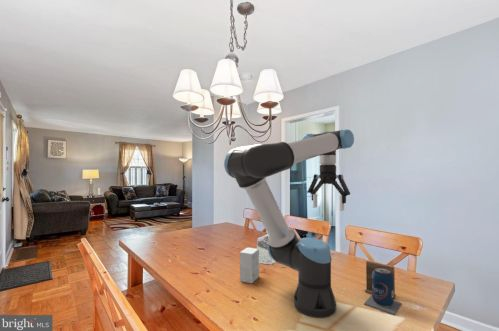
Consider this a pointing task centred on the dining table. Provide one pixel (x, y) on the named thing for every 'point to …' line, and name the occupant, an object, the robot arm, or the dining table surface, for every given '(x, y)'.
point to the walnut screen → (369, 270)
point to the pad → (390, 309)
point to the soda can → (382, 286)
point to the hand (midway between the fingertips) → (328, 208)
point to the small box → (249, 265)
